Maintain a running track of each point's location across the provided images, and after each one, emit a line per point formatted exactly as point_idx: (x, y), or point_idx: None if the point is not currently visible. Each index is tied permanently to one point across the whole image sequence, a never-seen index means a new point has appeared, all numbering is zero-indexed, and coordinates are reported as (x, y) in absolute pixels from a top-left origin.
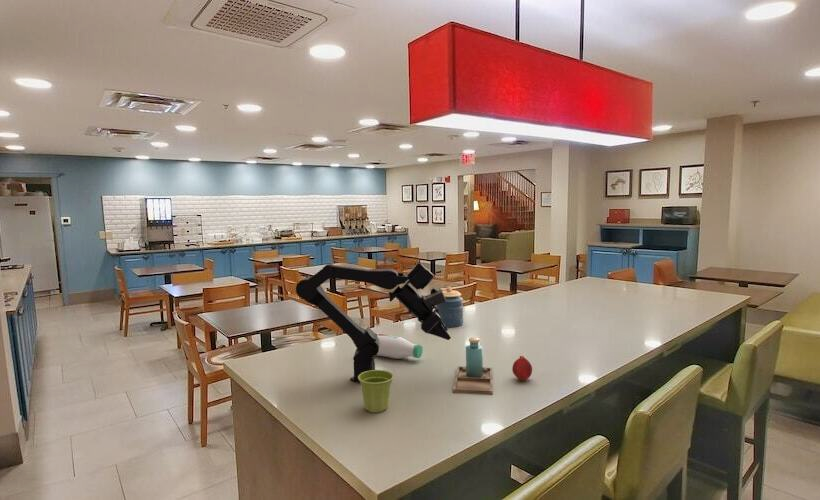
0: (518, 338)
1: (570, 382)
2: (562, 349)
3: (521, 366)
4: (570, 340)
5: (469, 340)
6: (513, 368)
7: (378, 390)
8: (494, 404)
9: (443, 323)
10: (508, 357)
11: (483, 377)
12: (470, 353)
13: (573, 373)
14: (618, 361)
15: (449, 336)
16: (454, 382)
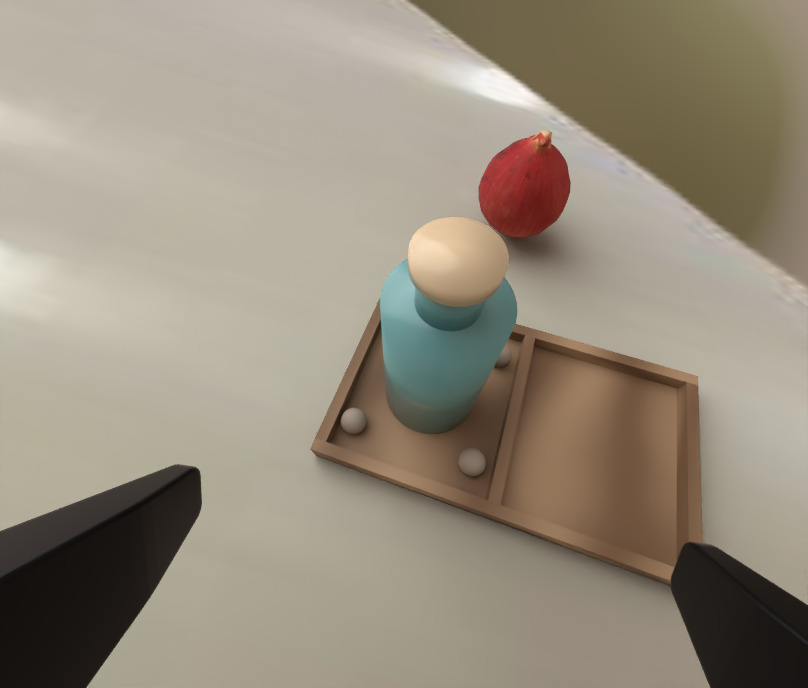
0: (33, 98)
1: (531, 125)
2: (234, 48)
3: (567, 182)
4: (165, 10)
5: (468, 298)
6: (536, 216)
7: None
8: (778, 407)
9: (52, 535)
10: (231, 191)
11: (507, 361)
12: (497, 358)
13: (455, 96)
14: (386, 2)
15: (751, 577)
16: (588, 550)
